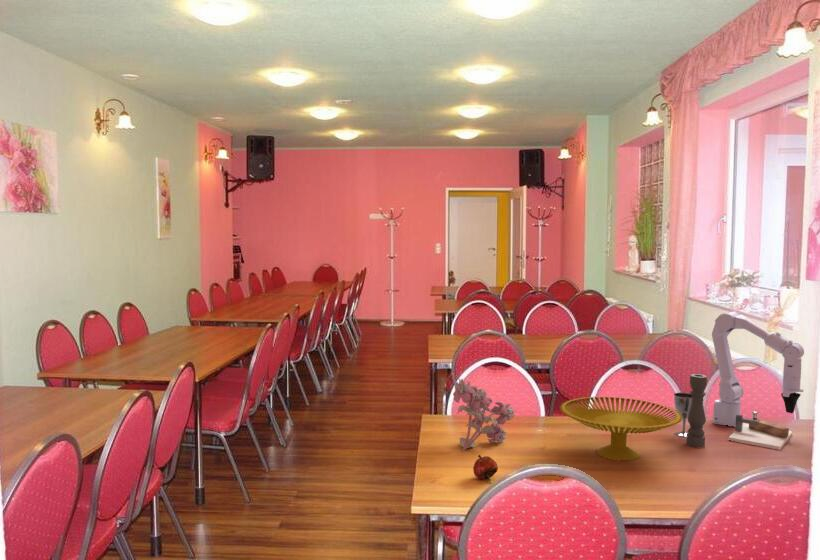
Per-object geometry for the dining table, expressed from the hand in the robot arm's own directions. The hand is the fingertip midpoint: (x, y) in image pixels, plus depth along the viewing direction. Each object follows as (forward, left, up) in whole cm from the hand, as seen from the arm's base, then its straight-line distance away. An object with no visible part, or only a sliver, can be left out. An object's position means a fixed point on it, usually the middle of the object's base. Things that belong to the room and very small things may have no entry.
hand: (789, 412), depth 264 cm
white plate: (-8, -8, -9) cm, 15 cm away
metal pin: (-11, -2, -4) cm, 12 cm away
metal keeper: (-13, -9, -8) cm, 17 cm away
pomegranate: (-65, -109, -9) cm, 127 cm away
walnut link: (-6, -4, -8) cm, 11 cm away
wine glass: (-31, -23, -9) cm, 40 cm away
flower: (-83, -80, -9) cm, 116 cm away
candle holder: (-24, -33, -9) cm, 42 cm away
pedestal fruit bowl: (-42, -60, -9) cm, 74 cm away
